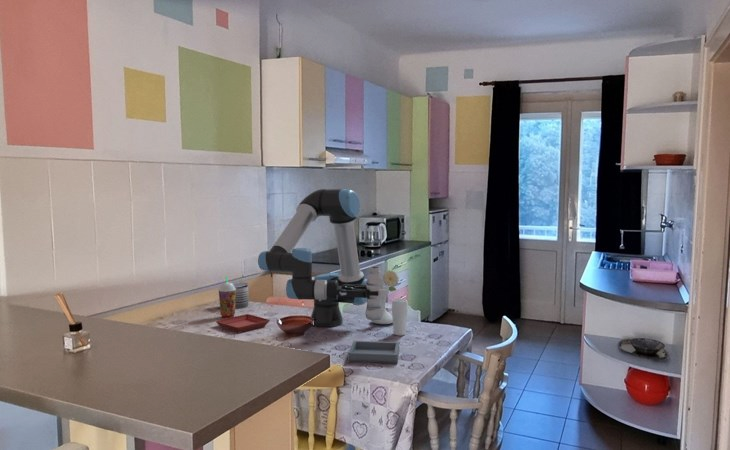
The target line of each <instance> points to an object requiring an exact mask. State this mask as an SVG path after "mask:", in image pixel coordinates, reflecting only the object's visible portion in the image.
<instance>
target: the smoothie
mask: <svg viewBox="0 0 730 450" xmlns="http://www.w3.org/2000/svg"><path fill="white" fill-rule="evenodd" d="M218 298H219V299H218V300H219V301H218V302H219V313H220V316H221V319H226V318H231V317H235V315H236V309H235V300H236V288H235V286H234V285H233V283H232V282H230V281H229V278H228V276H226V282H223V283H221V285H220V286H219V289H218Z"/></svg>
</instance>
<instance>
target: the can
mask: <svg viewBox="0 0 730 450" xmlns="http://www.w3.org/2000/svg"><path fill="white" fill-rule="evenodd" d="M232 284H233V285H234V286H235V288H236V300H235V310H238V309H240V310H241V309H245V308H247V307H249V282H235V283H232Z"/></svg>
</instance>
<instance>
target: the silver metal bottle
mask: <svg viewBox="0 0 730 450" xmlns="http://www.w3.org/2000/svg"><path fill="white" fill-rule="evenodd" d="M380 269H381V267H378V266H370V267H369V273H370V274H369V275H368V276H367V278H366V279H367V280H366V286H367V290H370V289H383V286H384V281H383V276H381V275H380V273H381V270H380ZM382 317H383V308H382V297H370V299H367V300H366V309H365V318H366V319H367V320H369V321H371V320H373V321H375V320H380V319H382Z"/></svg>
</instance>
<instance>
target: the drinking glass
mask: <svg viewBox="0 0 730 450" xmlns="http://www.w3.org/2000/svg"><path fill="white" fill-rule="evenodd" d="M391 315H392V318H393V323H392V327H393V328H392V330H393V331H392V333H393V335H395V336H399V337H401V336H404V335H406V333H407V332H406V330H407V329H406V328H407V321H408V320H407V317H408V300H407V299H405V298H393V299H392V300H391Z"/></svg>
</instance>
